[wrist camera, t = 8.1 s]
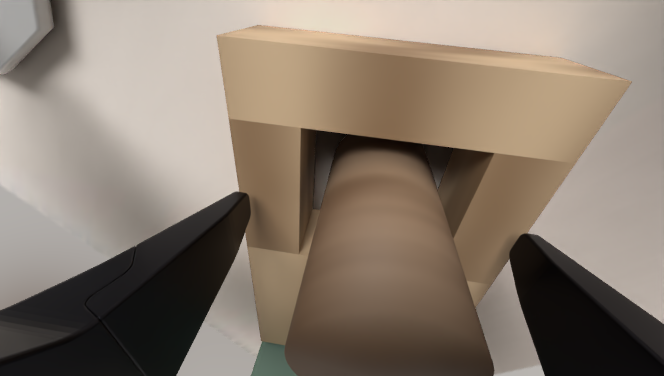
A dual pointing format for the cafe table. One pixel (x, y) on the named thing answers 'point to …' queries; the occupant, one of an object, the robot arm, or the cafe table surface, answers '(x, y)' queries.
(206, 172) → the cafe table surface
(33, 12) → the wineglass
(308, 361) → the walnut peg
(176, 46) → the cafe table surface
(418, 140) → the socket block
